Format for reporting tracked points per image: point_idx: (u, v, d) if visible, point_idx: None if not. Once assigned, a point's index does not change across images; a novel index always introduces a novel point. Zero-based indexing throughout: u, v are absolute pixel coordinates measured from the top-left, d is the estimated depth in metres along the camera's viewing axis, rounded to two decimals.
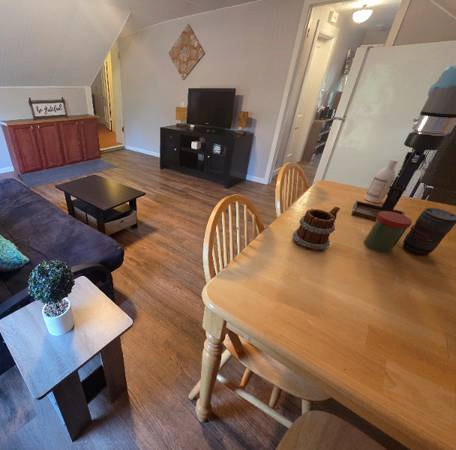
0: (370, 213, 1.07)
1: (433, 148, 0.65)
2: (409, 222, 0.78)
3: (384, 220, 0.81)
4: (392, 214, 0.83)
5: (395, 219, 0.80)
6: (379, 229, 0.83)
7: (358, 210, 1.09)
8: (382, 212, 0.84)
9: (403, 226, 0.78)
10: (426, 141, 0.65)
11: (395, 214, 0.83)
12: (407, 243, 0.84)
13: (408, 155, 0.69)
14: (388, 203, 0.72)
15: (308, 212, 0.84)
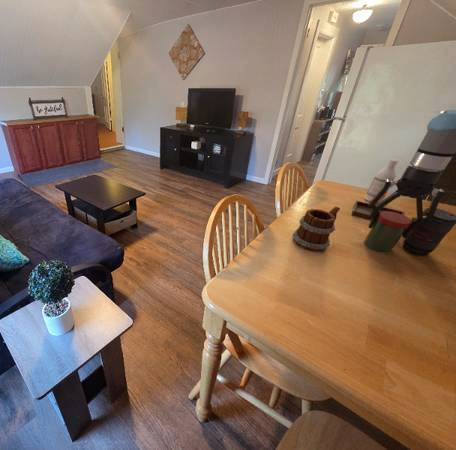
0: (370, 213, 1.07)
1: (406, 178, 0.74)
2: (409, 222, 0.78)
3: (384, 220, 0.81)
4: (392, 214, 0.83)
5: (395, 219, 0.80)
6: (379, 229, 0.83)
7: (358, 210, 1.09)
8: (382, 212, 0.84)
9: (403, 226, 0.78)
10: (405, 170, 0.75)
11: (395, 214, 0.83)
12: (407, 243, 0.84)
13: None
14: (371, 220, 0.86)
15: (308, 212, 0.84)
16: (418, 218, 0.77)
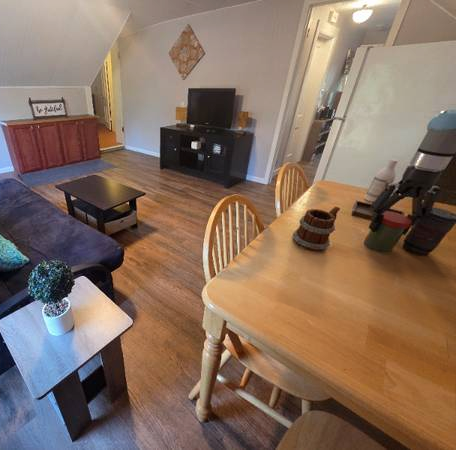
0: (370, 213, 1.07)
1: (413, 180, 0.72)
2: (410, 220, 0.79)
3: (391, 222, 0.79)
4: (390, 214, 0.83)
5: (398, 220, 0.80)
6: (379, 229, 0.83)
7: (358, 210, 1.09)
8: None
9: (408, 225, 0.78)
10: (408, 172, 0.73)
11: (391, 213, 0.83)
12: (407, 242, 0.84)
13: None
14: (372, 223, 0.84)
15: (308, 212, 0.84)
16: (417, 215, 0.78)
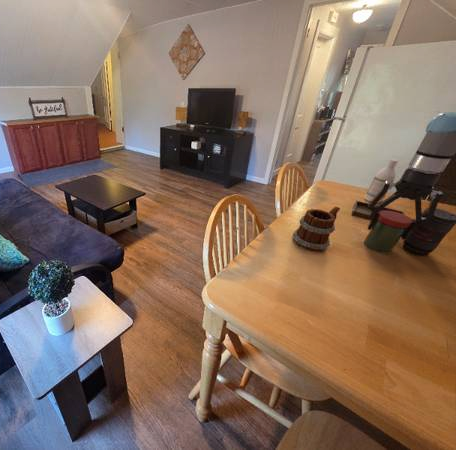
0: (370, 213, 1.07)
1: (405, 179, 0.74)
2: (381, 211, 0.84)
3: None
4: (397, 218, 0.80)
5: (394, 214, 0.82)
6: (379, 229, 0.83)
7: (358, 210, 1.09)
8: (408, 221, 0.78)
9: None
10: (404, 172, 0.75)
11: (394, 219, 0.80)
12: (407, 243, 0.85)
13: None
14: (370, 222, 0.86)
15: (308, 212, 0.84)
16: (417, 220, 0.77)
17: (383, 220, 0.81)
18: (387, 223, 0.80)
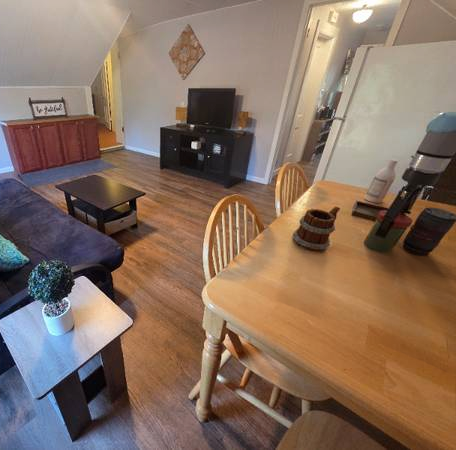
0: (370, 213, 1.07)
1: (424, 184, 0.71)
2: None
3: None
4: (402, 217, 0.80)
5: None
6: None
7: (358, 210, 1.09)
8: (404, 215, 0.82)
9: (378, 216, 0.83)
10: (417, 177, 0.71)
11: (404, 219, 0.79)
12: (407, 242, 0.85)
13: (404, 187, 0.76)
14: (381, 230, 0.81)
15: (308, 212, 0.84)
16: (407, 211, 0.82)
17: (403, 225, 0.78)
18: (406, 226, 0.78)
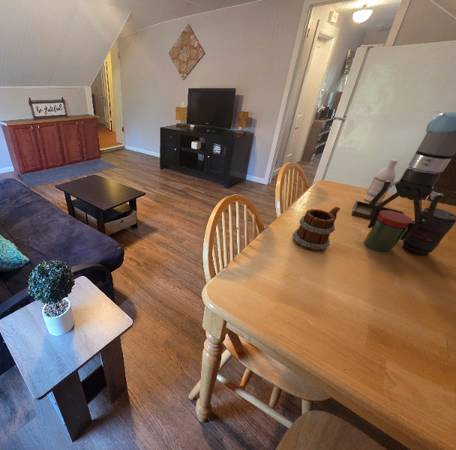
0: (370, 213, 1.07)
1: None
2: (408, 222, 0.78)
3: (382, 217, 0.82)
4: (395, 214, 0.82)
5: (393, 218, 0.80)
6: (379, 229, 0.83)
7: (358, 210, 1.09)
8: (384, 211, 0.84)
9: (399, 225, 0.78)
10: None
11: (398, 214, 0.82)
12: (406, 242, 0.85)
13: (418, 191, 0.74)
14: None
15: (308, 212, 0.84)
16: None
17: None
18: None
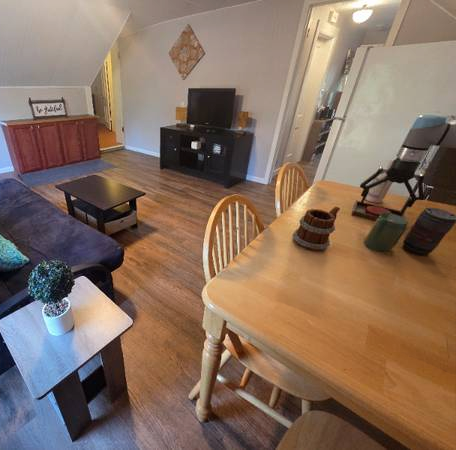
0: None
1: None
2: None
3: (370, 212, 1.05)
4: (377, 208, 1.07)
5: (379, 212, 1.04)
6: (379, 229, 0.83)
7: (358, 210, 1.09)
8: (369, 207, 1.08)
9: None
10: None
11: (379, 208, 1.07)
12: (406, 242, 0.85)
13: (405, 176, 0.95)
14: None
15: (308, 212, 0.84)
16: None
17: None
18: None
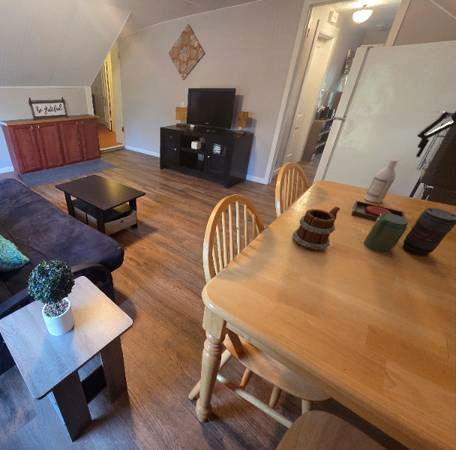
0: None
1: None
2: None
3: (370, 212, 1.05)
4: (377, 208, 1.07)
5: (379, 212, 1.04)
6: (379, 229, 0.83)
7: (358, 210, 1.09)
8: (369, 207, 1.08)
9: None
10: None
11: (379, 208, 1.07)
12: (406, 242, 0.85)
13: None
14: None
15: (308, 212, 0.84)
16: None
17: None
18: None
